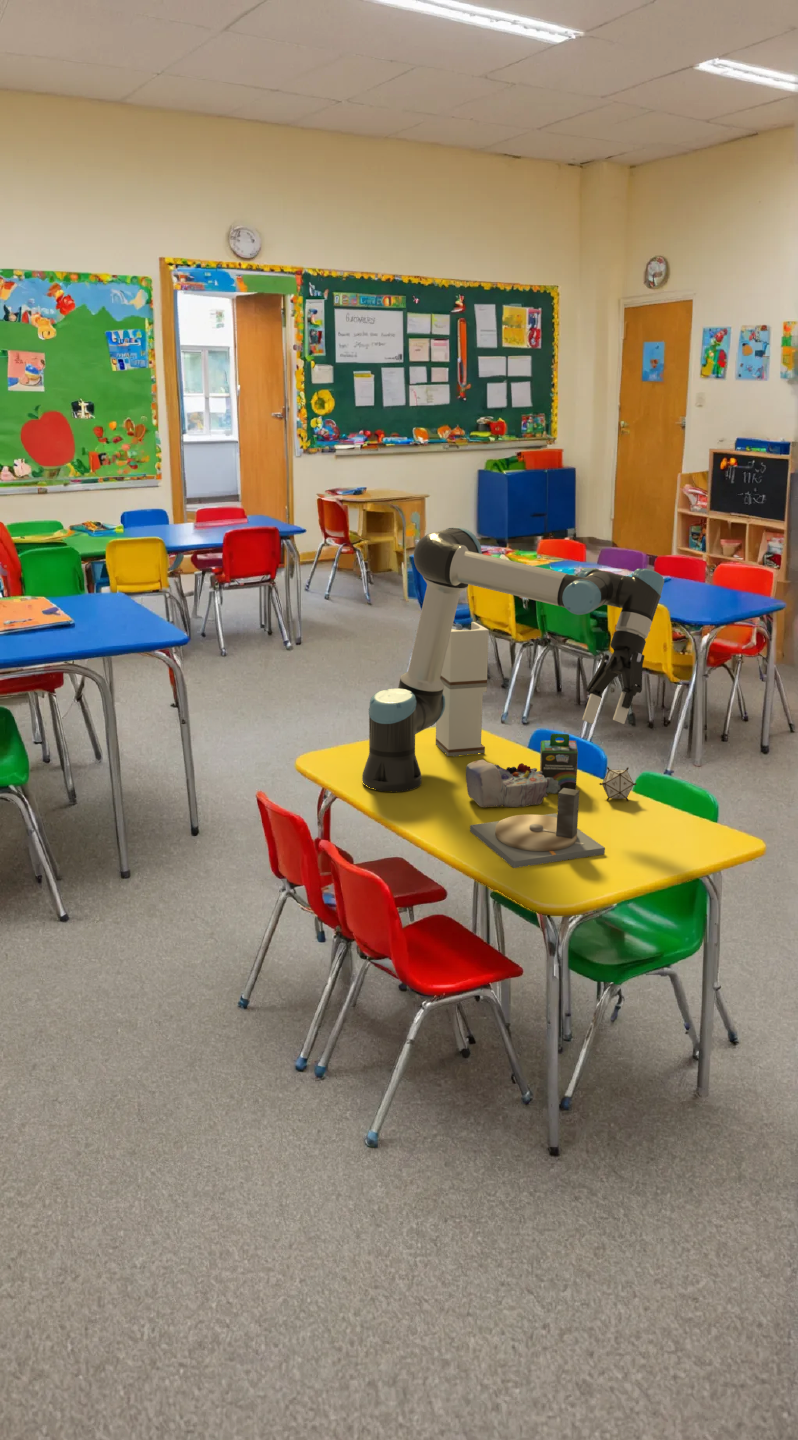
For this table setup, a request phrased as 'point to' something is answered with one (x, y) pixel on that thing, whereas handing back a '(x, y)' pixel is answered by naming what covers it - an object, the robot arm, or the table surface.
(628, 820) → the table surface
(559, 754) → the chalk box
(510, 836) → the dial
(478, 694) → the tall cream pedestal vase
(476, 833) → the dial base plate
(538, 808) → the table surface
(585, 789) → the table surface
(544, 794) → the cell model
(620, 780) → the game die
